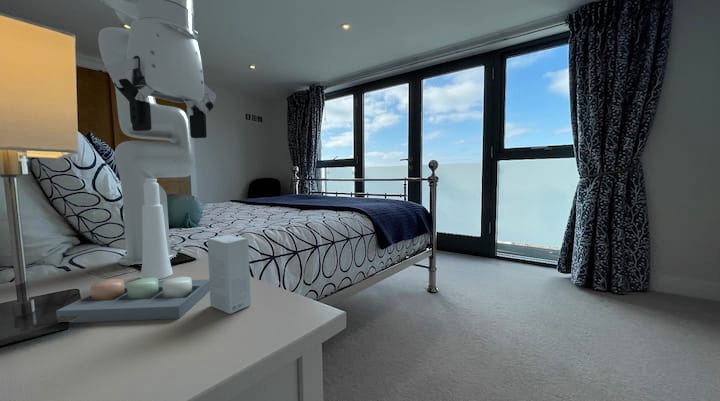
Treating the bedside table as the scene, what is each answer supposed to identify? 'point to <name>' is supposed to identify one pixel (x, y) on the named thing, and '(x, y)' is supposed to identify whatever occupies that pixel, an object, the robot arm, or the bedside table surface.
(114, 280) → the terracotta button
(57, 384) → the bedside table surface
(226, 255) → the skincare box
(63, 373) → the bedside table surface
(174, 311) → the button board
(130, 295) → the sage button
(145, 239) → the cosmetic bottle
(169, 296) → the ivory button
